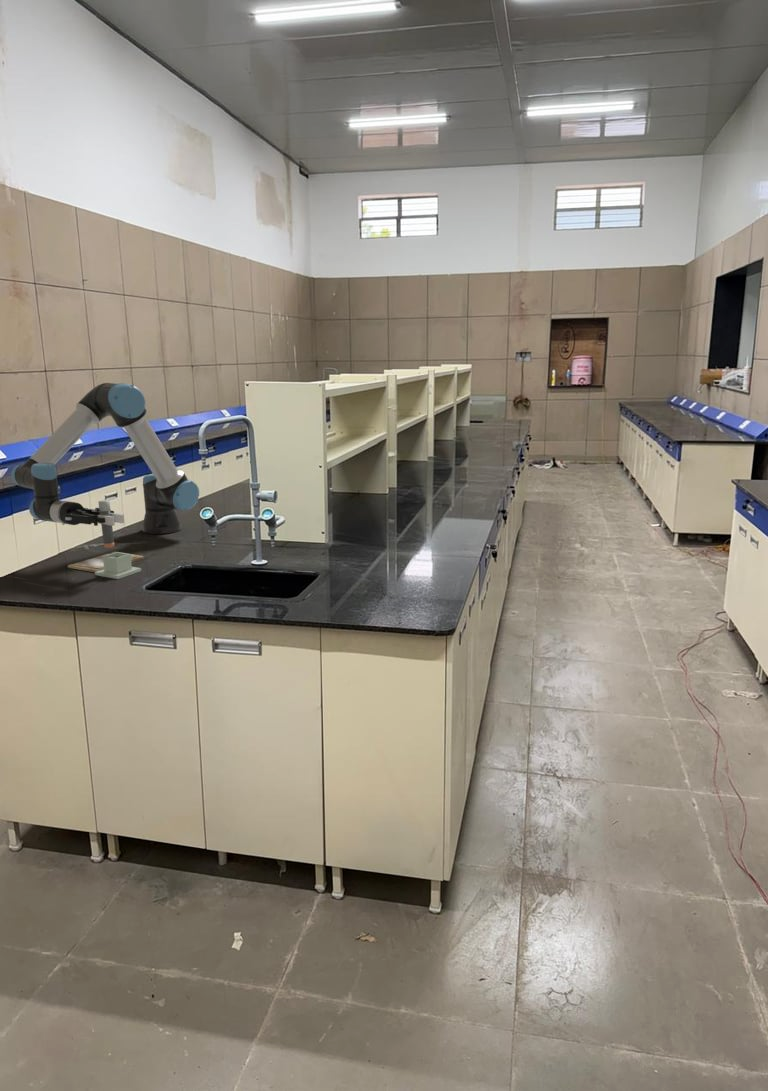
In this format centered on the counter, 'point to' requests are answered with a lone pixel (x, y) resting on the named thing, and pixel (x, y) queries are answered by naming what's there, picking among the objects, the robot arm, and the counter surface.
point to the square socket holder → (117, 566)
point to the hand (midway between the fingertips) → (118, 520)
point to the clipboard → (97, 563)
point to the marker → (106, 529)
